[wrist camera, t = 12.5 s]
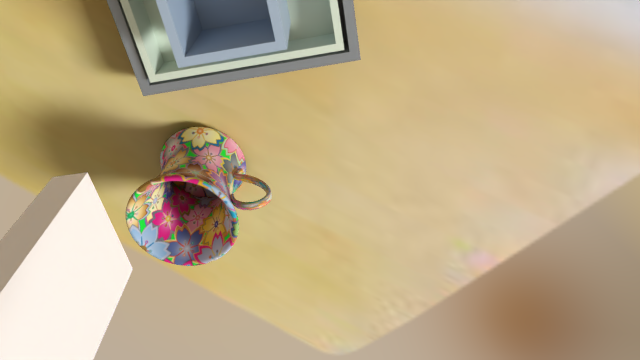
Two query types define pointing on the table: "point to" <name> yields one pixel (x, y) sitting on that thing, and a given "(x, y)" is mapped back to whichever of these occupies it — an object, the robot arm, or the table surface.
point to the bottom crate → (318, 60)
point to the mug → (192, 199)
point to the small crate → (224, 28)
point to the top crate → (304, 40)
